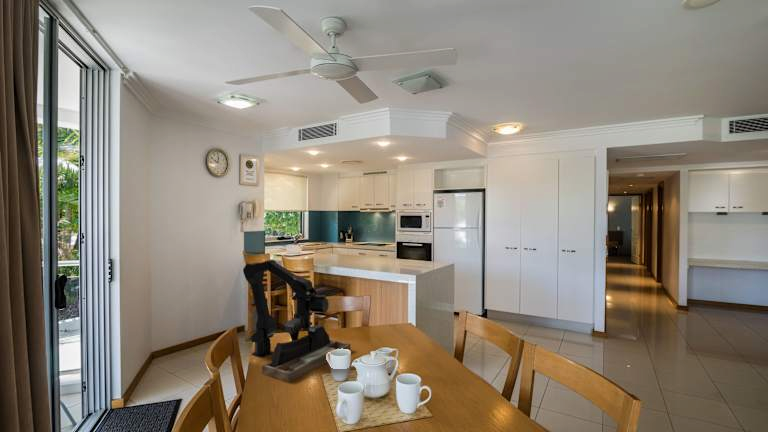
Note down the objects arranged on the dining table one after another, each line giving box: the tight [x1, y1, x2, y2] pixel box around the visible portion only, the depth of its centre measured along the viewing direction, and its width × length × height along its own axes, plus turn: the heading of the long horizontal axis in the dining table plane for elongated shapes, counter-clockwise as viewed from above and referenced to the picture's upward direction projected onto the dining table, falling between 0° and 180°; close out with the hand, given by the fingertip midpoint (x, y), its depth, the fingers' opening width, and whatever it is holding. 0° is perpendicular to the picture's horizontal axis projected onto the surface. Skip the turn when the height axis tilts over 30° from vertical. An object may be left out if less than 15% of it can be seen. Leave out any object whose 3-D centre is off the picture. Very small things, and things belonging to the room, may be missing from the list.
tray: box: [261, 338, 351, 383], centre depth 148 cm, size 14×36×3 cm, turn 148°
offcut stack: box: [287, 347, 336, 372], centre depth 146 cm, size 6×26×4 cm, turn 149°
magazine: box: [270, 327, 330, 368], centre depth 149 cm, size 17×3×30 cm
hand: (303, 348), depth 150 cm, fingers open, 9 cm apart
